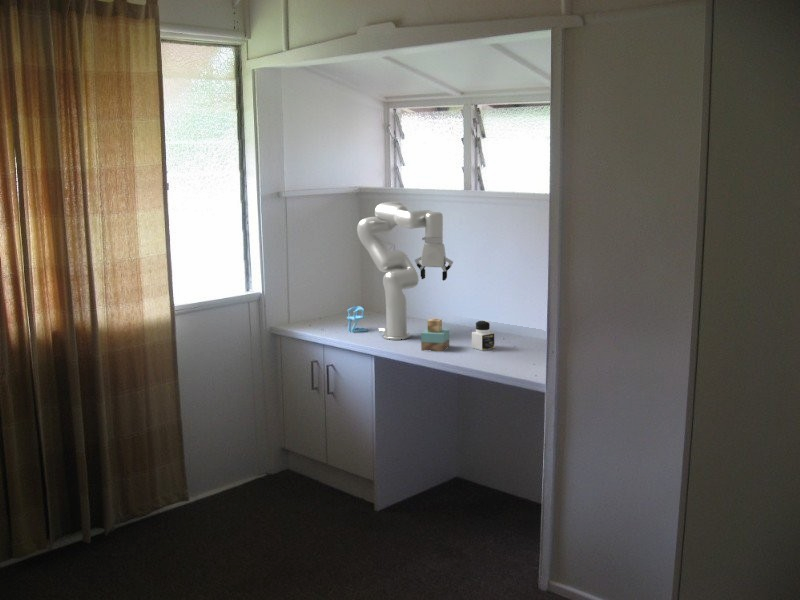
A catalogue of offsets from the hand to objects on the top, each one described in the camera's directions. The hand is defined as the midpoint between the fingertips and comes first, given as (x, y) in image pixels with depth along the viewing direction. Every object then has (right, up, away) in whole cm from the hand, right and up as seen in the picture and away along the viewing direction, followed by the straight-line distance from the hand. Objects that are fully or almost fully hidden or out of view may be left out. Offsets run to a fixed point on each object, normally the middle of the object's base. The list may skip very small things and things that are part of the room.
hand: (433, 279), depth 367 cm
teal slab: (+1, -27, +1) cm, 27 cm away
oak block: (0, -23, +1) cm, 23 cm away
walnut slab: (+1, -31, +2) cm, 31 cm away
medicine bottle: (+22, -30, 0) cm, 37 cm away
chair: (-36, -24, +41) cm, 60 cm away
